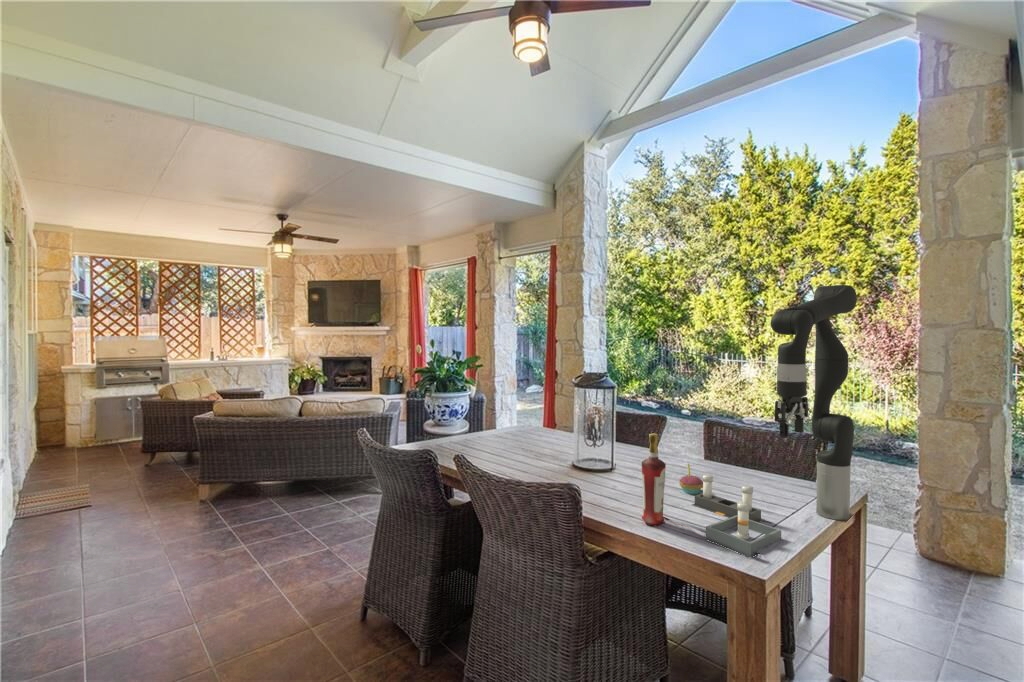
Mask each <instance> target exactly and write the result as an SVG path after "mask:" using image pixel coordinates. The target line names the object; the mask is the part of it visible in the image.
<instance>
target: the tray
mask: <svg viewBox="0 0 1024 682" xmlns="http://www.w3.org/2000/svg"><path fill="white" fill-rule="evenodd" d="M736 526H738V516H737V515H736V516H733V517H730V518H728V517H727V518H726V519H722V520H720V521H717V522H715V523H713V524H709V525H707V526H705V541H706V540H709V541H711V542H714V543H717V544H719V545H722V546H724V547H726V548H729V549H731V550H733V551H736V552H738V553H740V554H739V555H741V554H743V555H745V556H744V557H746V556H748V557H753V556H755V555H757V556H758V554H759V555H761V553H760V552H757V551H758V550H760V549H763V548H765V547H767V546H770V545H771V544H773V543H776V542H778V541H780V540H782V529H779V528H777V527H773V526H769V525H767V524H764V523H761V522H755V521H752V520H749V529H748V530H751V531H753V532H756V533H757V532H758V534H759V533H760V534H763V535H762V536H760V537H758V538H756V539H753V540H751V541H749V540H747V539H741V538H738V537H737V535H736V536H735V535H732V534H729V533H727V532H724V531H725V530H728V529H730V528H732V527H733V528H734V527H736ZM709 541H708V542H709ZM711 542H710V543H711ZM714 543H713V544H714ZM719 545H718V546H719ZM724 547H723V548H724ZM726 548H725V549H726ZM731 550H730V551H731ZM733 551H732V552H733ZM736 552H735V553H736ZM738 553H737V554H738ZM743 555H742V556H743ZM748 557H747V558H748ZM755 557H756V556H755ZM753 558H754V557H753Z"/></svg>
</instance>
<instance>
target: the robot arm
mask: <svg viewBox="0 0 1024 682" xmlns="http://www.w3.org/2000/svg"><path fill="white" fill-rule="evenodd" d="M857 300H858V296H857V291H856V289H855V288H854V287H853V286H851V285H848V284H837V285H821V286H818V287H817V288H816V289H815V291H814V294H813V299H811V300H807V301H805V302H803V303H801V304H799V305H797V306H794V307H789V308H788V307H787V308H783V309H780V310H777V311H776V312H775V313H774V314H773V315H772V316H771V319H770V327H771V329H772V330H773V332H774V333H776V334H778V335H787V336H788V335H793V336H794V338H793V339H792V340H791V341H789V342H784V343H781V344H779V345H778V347H777V348H778V349H777V368H776V394H777V395H778V396H780V397H781V400H775V402H774V422H777V423H778V424H779V437H782V438H787V437H789V436H790V435H789V432H790V431H789V423H790V419H792V418H793V417H794V433H799V434H802V433H804V431H805V430H804V428H805V427H804V421H806V418H808V417H809V401H808V400H809V398H808V397H807V393H808V385H807V384H808V381H807V380H808V377H807V376H808V375H807V374H808V371H807V366H806V365H807V364H806V363H807V357H806V354H807V353H806V351H807V345H808V342H809V339H810V335H811V333H812V329H813V326H814V325H815V326H814V327H815V350H814V399H813V408H812V416H811V432H812V435H813V437H814V438H815V439H817V440H820V441H823V442H824V441H825V442H828V443H829V442H830V443H834V445H833V449H829V450H821V451H819V452H817V457H816V458H817V459H816V460H817V461H816V501H815V502H816V507H815V508H816V509H815V510H816V513H817V514H818V515H820V517H824V518H827V519H832V520H839V521H841V520H844V521H846V520H849V519H850V518H851V517H850V512H851V511H850V509H851V469H852V467H851V465H852V463H851V461H852V458H853V457H852V456H853V449H854V447H853V446H854V438H855V436H854V435H855V425H854V421H853V419H852V417H850V416H848V415H843V414H837V413H836V414H835V413H832V412H831V413H830V409H831V408H830V407H831V402H832V400H833V397H834V395H835V393H836V392H837V391H838V390H839V389H840V387H841V386H842V385H843V383H845V380H846V379H847V377H848V375H849V354H848V351H847V349H846V347H845V346H844V345H843V343H842V342H841V340H840V339H839V337H838V336H837V335H836V333H835V332H834V330H833V327H832V324H831V319H830V318H831V317H834V316H837V315H840V314H847V313H850V312H852V311H853V310H855V307H856V305H857Z"/></svg>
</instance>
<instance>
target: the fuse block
mask: <svg viewBox="0 0 1024 682" xmlns="http://www.w3.org/2000/svg"><path fill="white" fill-rule="evenodd" d="M737 503H738V502H737V501H733V500H730V499H726V498H724V497H720V496H717V495H714V494H712V499H710V500H709V499H706V498H703V492H702V493H698V494H695V495H694V503H691V506H693V507H697V508H699V509H702V510H704V511H708V512H711V513H713V514H715V515H716V514H717V515H718V516H719V515H720V516H722V517H725V518H727V519H728V518H730V517H733V516H736V515H737V516H738V509H737ZM749 520H752V521H755V522H758V523H761V522H762V521H764V520H765V519H764V518H762V509H760V508H759V509H758V508H756V507H754V506H752V512H750V513H749Z"/></svg>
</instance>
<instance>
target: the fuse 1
mask: <svg viewBox="0 0 1024 682" xmlns="http://www.w3.org/2000/svg"><path fill="white" fill-rule="evenodd" d="M713 478H714V476H713V475H711V474H703V475H702V481H703V488H702V493H703V498H706V499H709V500H710V499H712V495H713V482H714V479H713Z"/></svg>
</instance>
